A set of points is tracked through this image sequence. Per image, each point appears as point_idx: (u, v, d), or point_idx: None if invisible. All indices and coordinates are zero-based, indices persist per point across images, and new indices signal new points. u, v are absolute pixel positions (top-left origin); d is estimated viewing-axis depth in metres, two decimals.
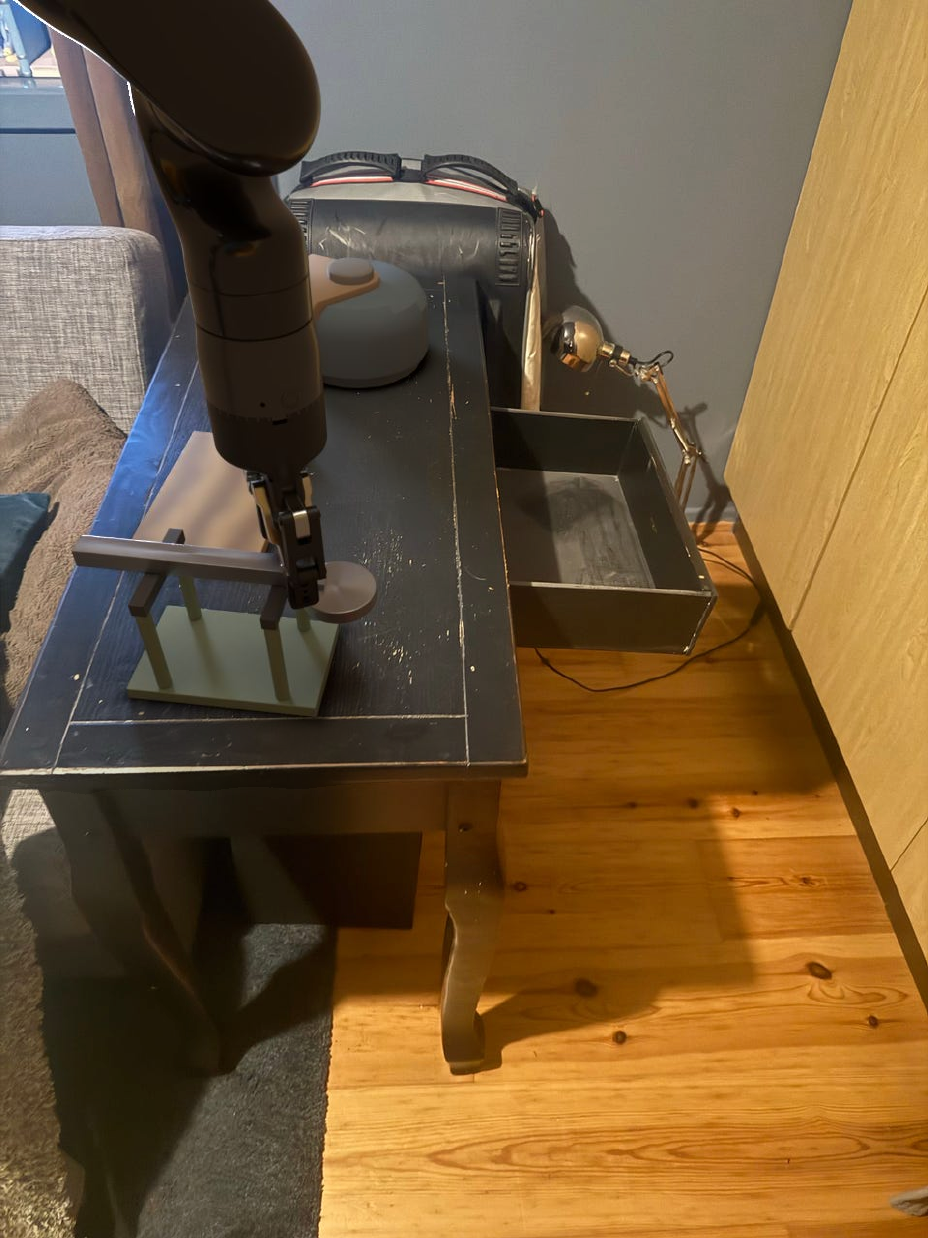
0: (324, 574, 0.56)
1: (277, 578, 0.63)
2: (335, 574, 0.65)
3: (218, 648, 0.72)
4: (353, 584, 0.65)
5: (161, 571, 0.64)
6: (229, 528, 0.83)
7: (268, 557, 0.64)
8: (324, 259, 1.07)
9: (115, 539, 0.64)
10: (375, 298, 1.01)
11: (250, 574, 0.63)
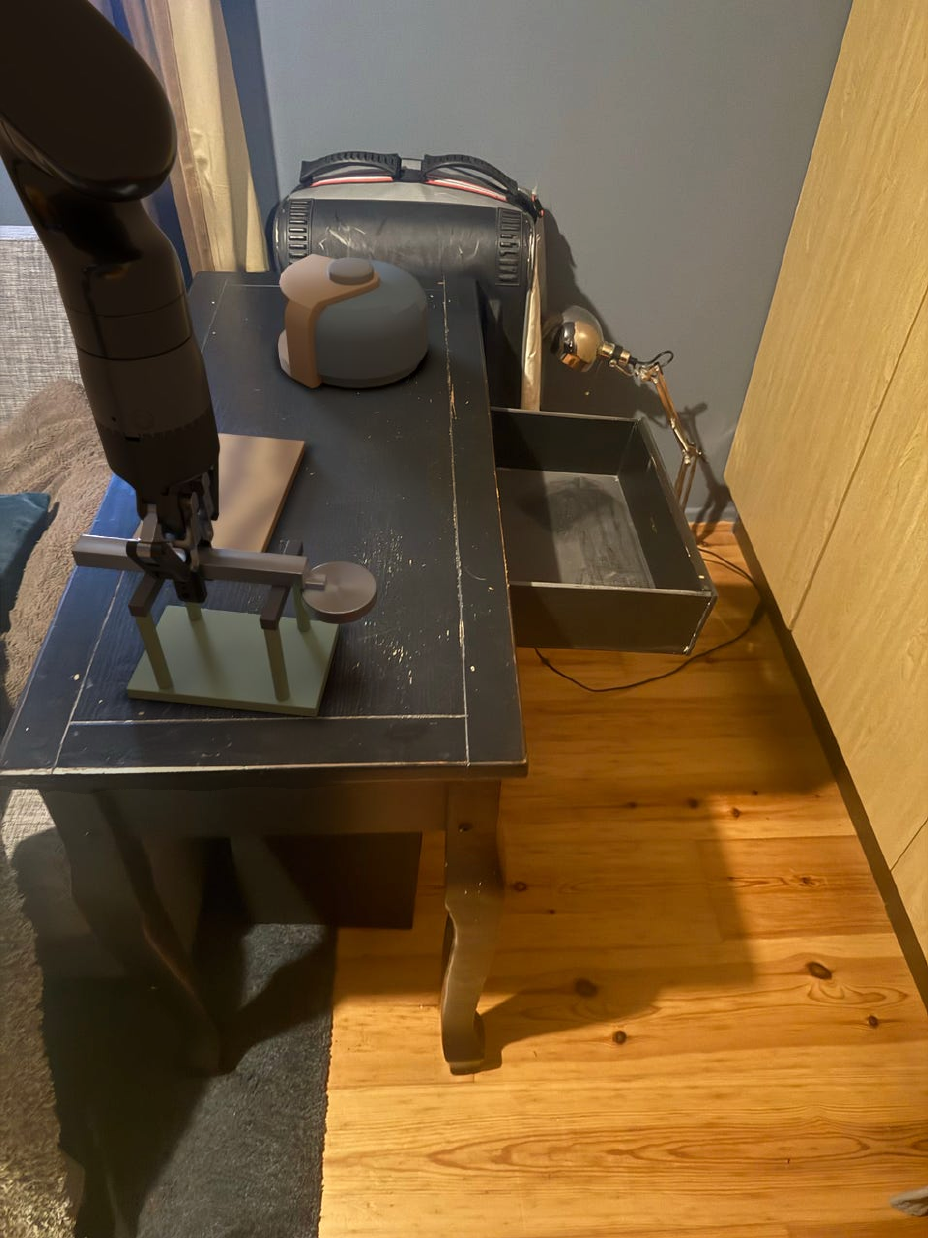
0: (183, 581, 0.60)
1: (277, 578, 0.63)
2: (335, 574, 0.65)
3: (218, 648, 0.72)
4: (353, 584, 0.65)
5: None
6: (229, 528, 0.83)
7: (268, 557, 0.64)
8: (324, 259, 1.07)
9: (115, 539, 0.64)
10: (375, 298, 1.01)
11: (250, 574, 0.63)
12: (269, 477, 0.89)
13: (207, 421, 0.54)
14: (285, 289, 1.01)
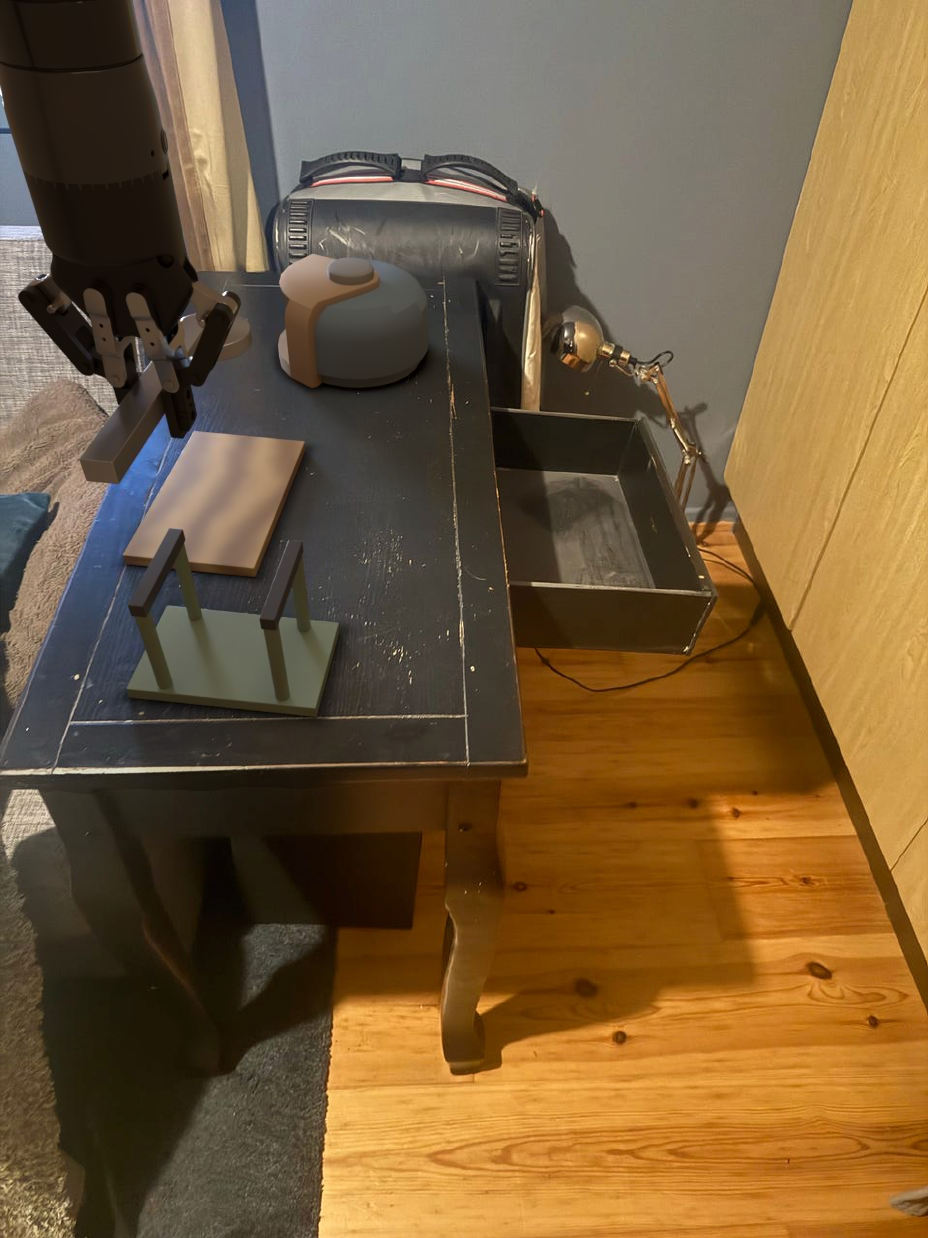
0: (215, 364, 0.54)
1: None
2: None
3: (218, 648, 0.72)
4: None
5: (158, 417, 0.53)
6: (229, 528, 0.83)
7: None
8: (324, 258, 1.07)
9: (101, 432, 0.50)
10: (375, 298, 1.01)
11: (192, 355, 0.58)
12: (269, 477, 0.89)
13: None
14: (285, 289, 1.01)
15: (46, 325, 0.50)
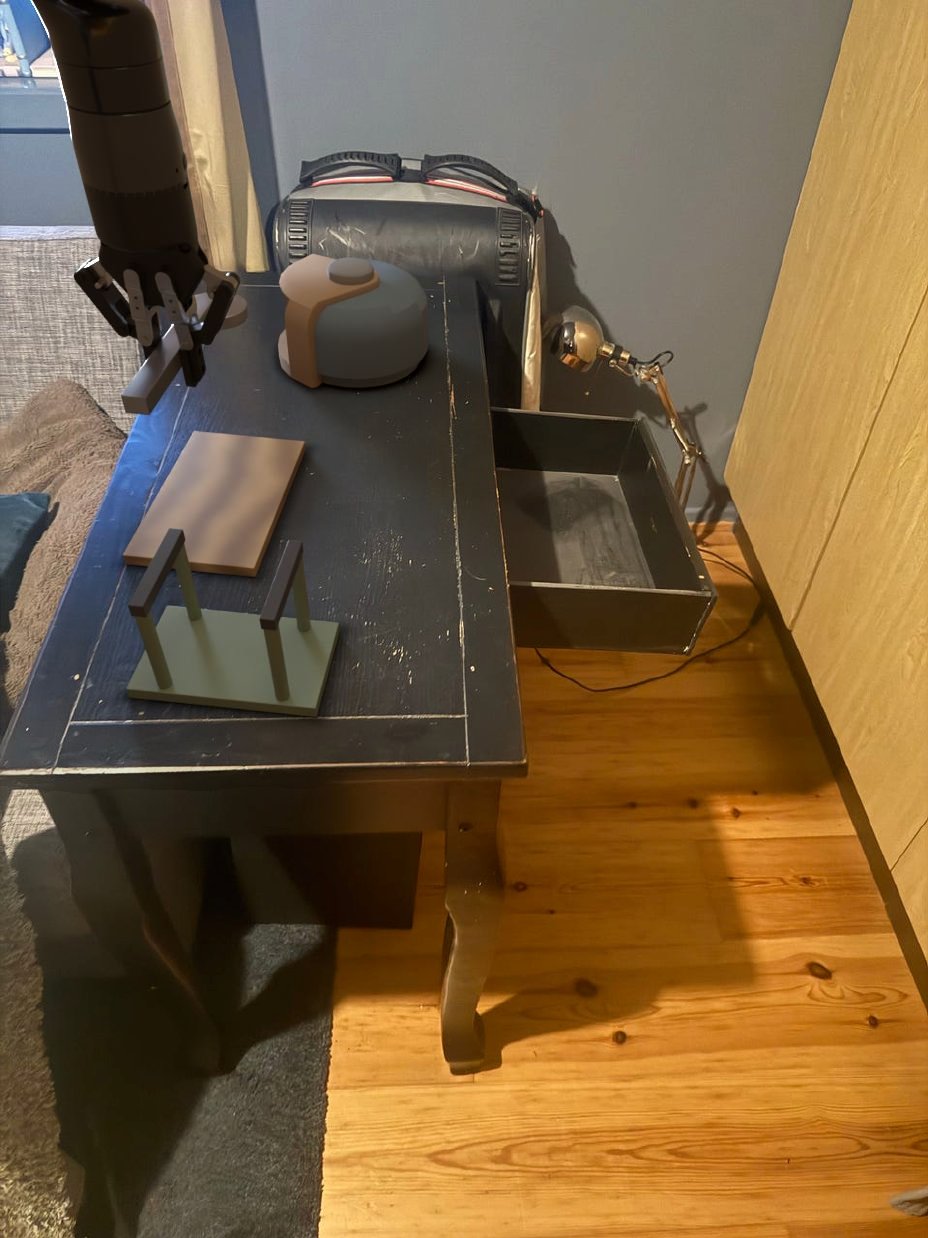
0: (220, 328, 0.70)
1: None
2: None
3: (218, 648, 0.72)
4: None
5: (177, 368, 0.70)
6: (229, 528, 0.83)
7: None
8: (324, 258, 1.07)
9: (136, 377, 0.66)
10: (375, 298, 1.01)
11: None
12: (269, 477, 0.89)
13: None
14: (285, 289, 1.01)
15: (93, 297, 0.67)
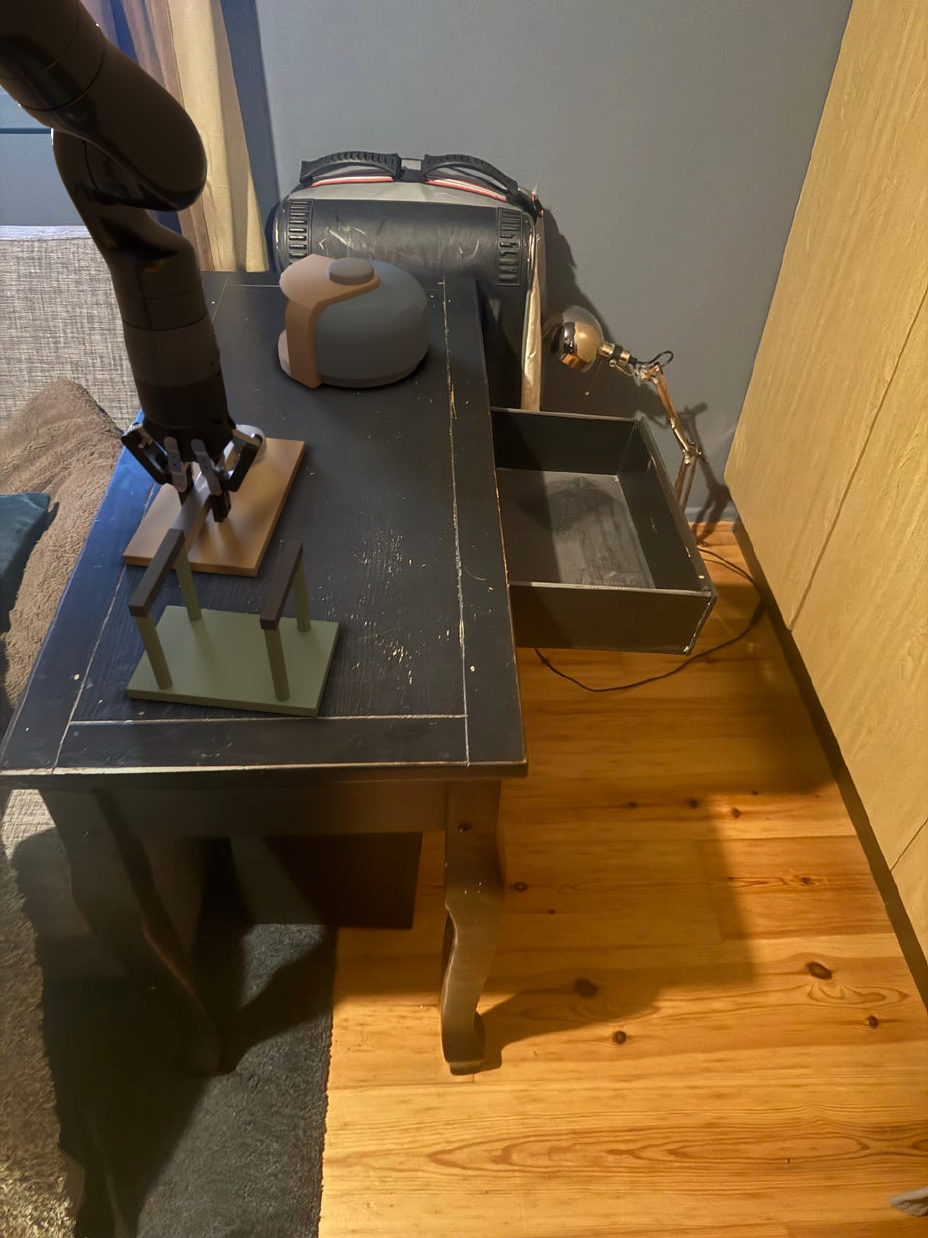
0: None
1: (233, 454, 0.87)
2: None
3: (218, 648, 0.72)
4: None
5: (207, 511, 0.81)
6: (229, 528, 0.83)
7: None
8: (324, 259, 1.07)
9: (173, 525, 0.77)
10: (375, 298, 1.01)
11: (227, 464, 0.85)
12: (269, 477, 0.89)
13: None
14: (285, 289, 1.01)
15: (137, 455, 0.78)
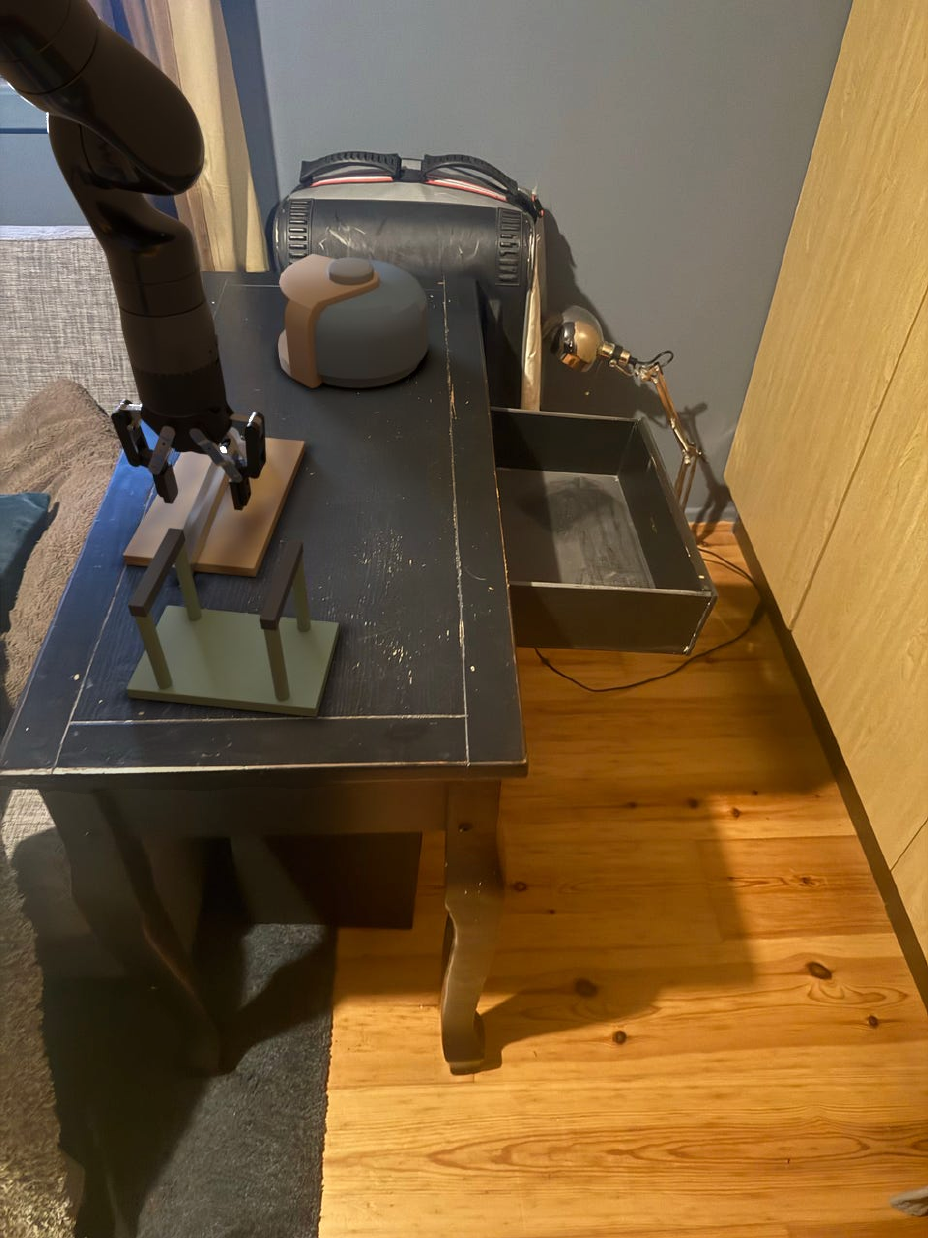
0: (265, 460, 0.80)
1: None
2: None
3: (218, 648, 0.72)
4: (235, 436, 0.92)
5: (210, 526, 0.82)
6: (229, 528, 0.83)
7: None
8: (324, 258, 1.07)
9: None
10: (375, 298, 1.01)
11: None
12: (269, 477, 0.89)
13: None
14: (285, 289, 1.01)
15: (121, 433, 0.76)
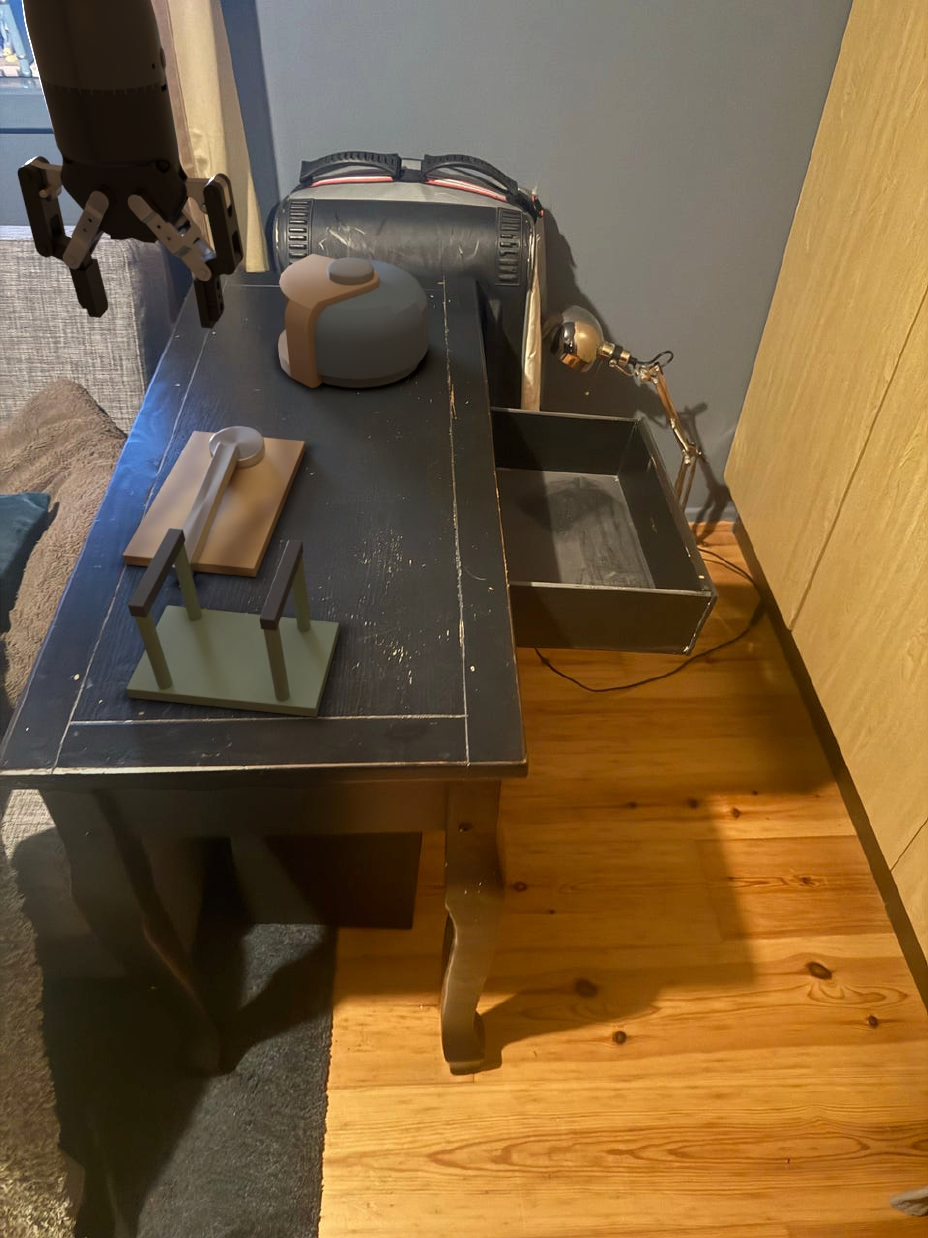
0: (243, 253, 0.60)
1: (233, 462, 0.87)
2: None
3: (218, 648, 0.72)
4: (235, 436, 0.92)
5: (210, 526, 0.82)
6: (229, 528, 0.83)
7: (215, 461, 0.86)
8: (324, 259, 1.07)
9: None
10: (375, 298, 1.01)
11: (227, 474, 0.86)
12: (269, 477, 0.89)
13: None
14: (285, 289, 1.01)
15: (29, 201, 0.56)
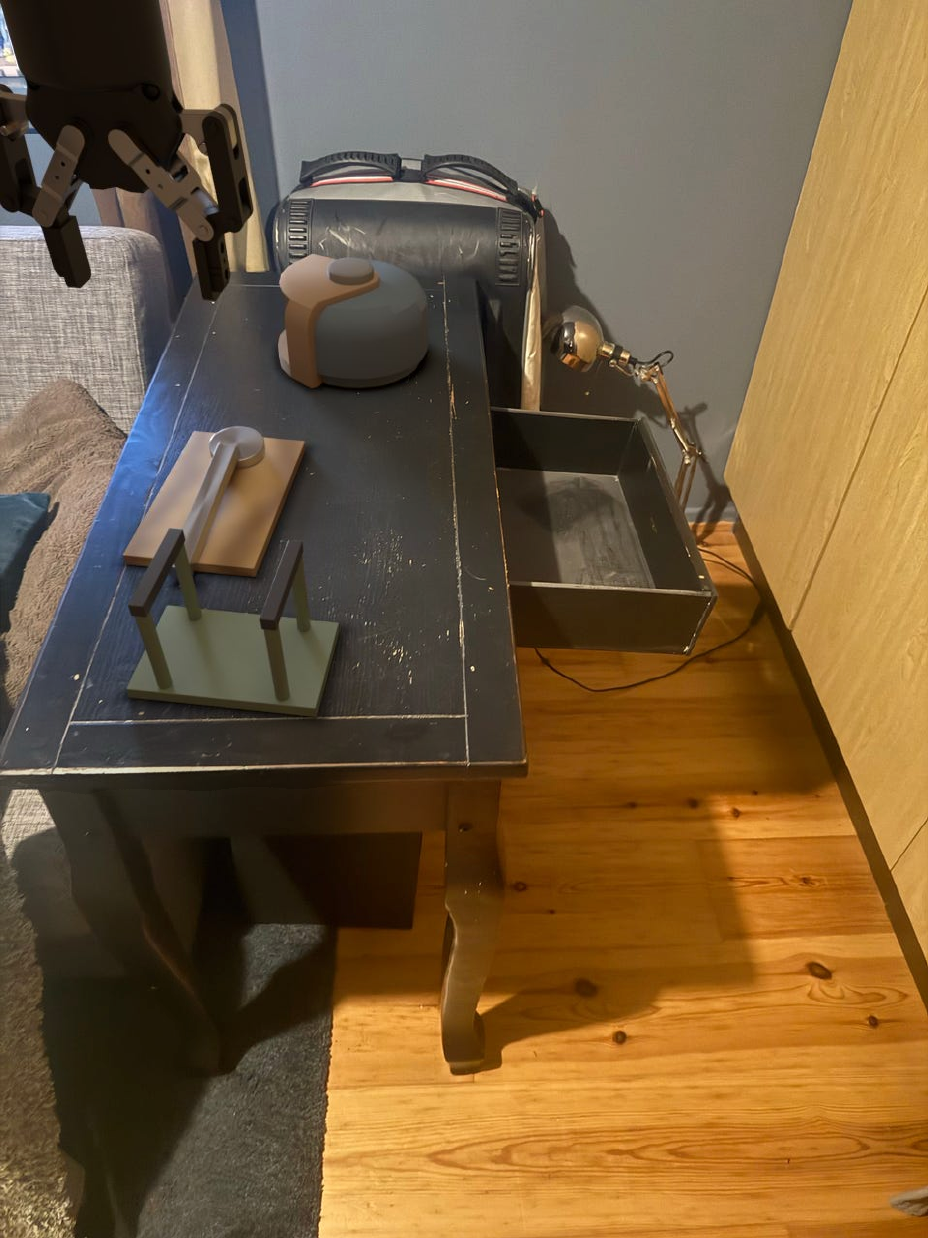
0: (252, 206, 0.48)
1: (233, 462, 0.87)
2: None
3: (218, 648, 0.72)
4: (235, 436, 0.92)
5: (210, 526, 0.82)
6: (229, 528, 0.83)
7: (215, 461, 0.86)
8: (324, 259, 1.07)
9: None
10: (375, 298, 1.01)
11: (227, 474, 0.86)
12: (269, 477, 0.89)
13: None
14: (285, 289, 1.01)
15: None
